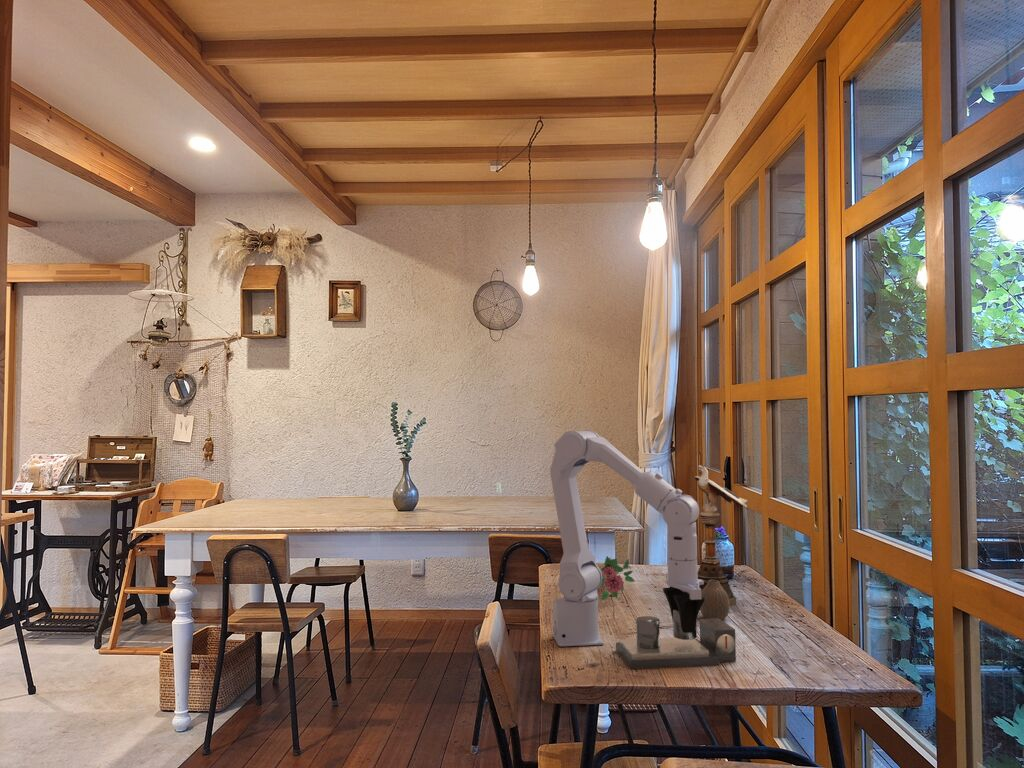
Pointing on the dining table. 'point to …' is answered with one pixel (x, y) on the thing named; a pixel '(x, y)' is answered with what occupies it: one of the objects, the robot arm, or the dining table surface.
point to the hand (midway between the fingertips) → (683, 628)
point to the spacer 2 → (678, 630)
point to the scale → (684, 649)
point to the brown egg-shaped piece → (714, 601)
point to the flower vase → (613, 576)
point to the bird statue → (713, 531)
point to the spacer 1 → (648, 632)
